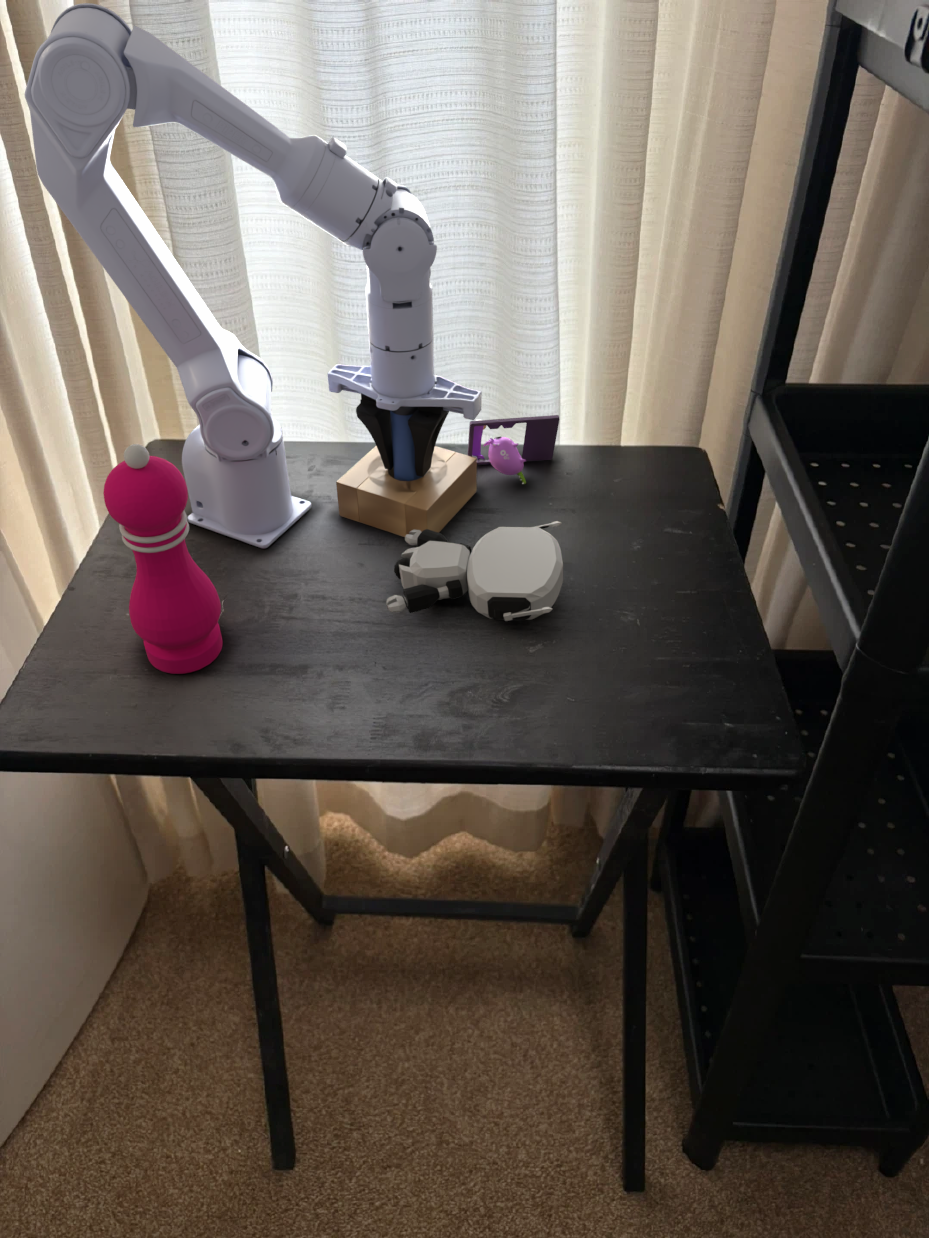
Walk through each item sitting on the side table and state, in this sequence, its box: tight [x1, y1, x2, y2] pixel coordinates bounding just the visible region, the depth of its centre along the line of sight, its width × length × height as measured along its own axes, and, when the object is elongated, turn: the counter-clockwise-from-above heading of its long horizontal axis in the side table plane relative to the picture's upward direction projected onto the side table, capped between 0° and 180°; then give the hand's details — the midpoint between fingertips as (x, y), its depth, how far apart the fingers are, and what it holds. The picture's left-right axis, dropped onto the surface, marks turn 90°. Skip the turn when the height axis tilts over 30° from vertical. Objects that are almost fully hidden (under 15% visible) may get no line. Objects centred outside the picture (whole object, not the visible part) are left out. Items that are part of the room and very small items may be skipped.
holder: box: [335, 445, 478, 538], centre depth 101 cm, size 10×10×4 cm
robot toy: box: [385, 520, 564, 622], centre depth 91 cm, size 12×4×15 cm
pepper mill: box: [103, 443, 224, 675], centre depth 80 cm, size 7×7×20 cm
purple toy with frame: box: [467, 414, 560, 485], centre depth 104 cm, size 7×5×9 cm
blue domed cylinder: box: [390, 406, 422, 481], centre depth 98 cm, size 3×3×10 cm
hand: (407, 467), depth 100 cm, fingers closed on blue domed cylinder, 3 cm apart
